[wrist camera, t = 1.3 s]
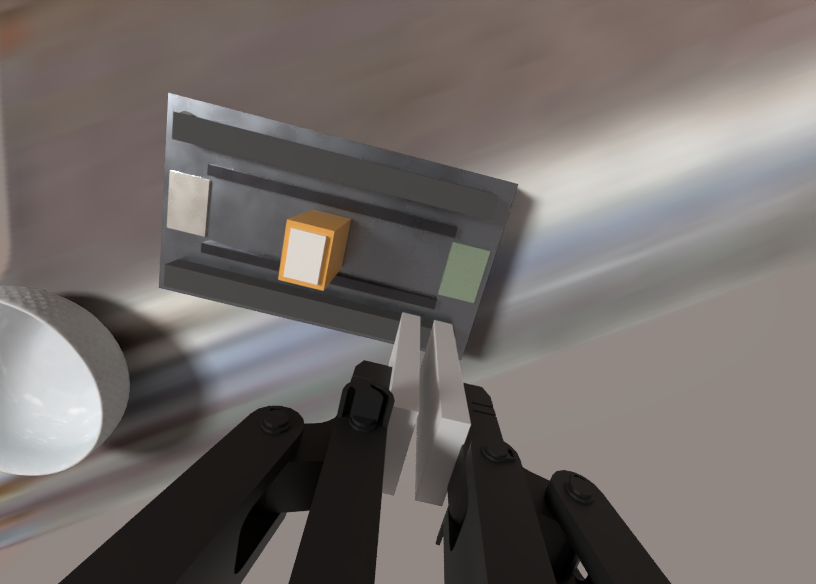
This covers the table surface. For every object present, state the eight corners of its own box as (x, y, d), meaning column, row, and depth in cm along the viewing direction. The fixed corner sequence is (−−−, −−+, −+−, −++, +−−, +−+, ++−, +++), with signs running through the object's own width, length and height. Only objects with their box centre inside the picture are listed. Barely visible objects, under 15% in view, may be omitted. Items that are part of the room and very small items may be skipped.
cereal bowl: (163, 295, 36) (103, 325, 29) (155, 441, 41) (102, 495, 34) (-24, 250, 35) (-130, 270, 29) (-9, 404, 40) (-95, 452, 34)
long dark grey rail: (188, 114, 28) (173, 111, 27) (494, 193, 29) (498, 195, 27) (186, 140, 29) (171, 139, 27) (486, 217, 30) (490, 220, 28)
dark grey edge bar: (178, 258, 32) (164, 264, 30) (453, 325, 32) (455, 334, 31) (177, 279, 32) (163, 285, 30) (447, 344, 33) (449, 354, 31)
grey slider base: (192, 99, 31) (163, 91, 27) (509, 182, 32) (520, 184, 28) (180, 277, 35) (154, 289, 32) (458, 345, 36) (461, 363, 33)
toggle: (313, 209, 30) (285, 219, 24) (351, 218, 30) (333, 232, 24) (304, 258, 31) (276, 280, 25) (341, 268, 31) (322, 292, 25)
